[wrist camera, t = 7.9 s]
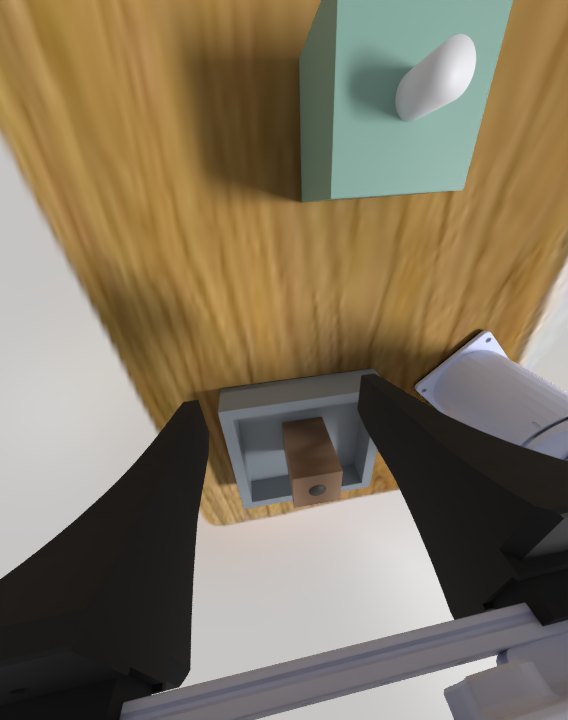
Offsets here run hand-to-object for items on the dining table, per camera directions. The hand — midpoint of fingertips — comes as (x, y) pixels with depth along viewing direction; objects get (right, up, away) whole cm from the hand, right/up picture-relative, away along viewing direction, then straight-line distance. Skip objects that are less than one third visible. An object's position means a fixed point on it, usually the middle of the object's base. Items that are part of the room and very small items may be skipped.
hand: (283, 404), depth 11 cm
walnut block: (+2, -6, +14) cm, 15 cm away
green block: (+4, +15, +3) cm, 16 cm away
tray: (+2, -6, +15) cm, 16 cm away
